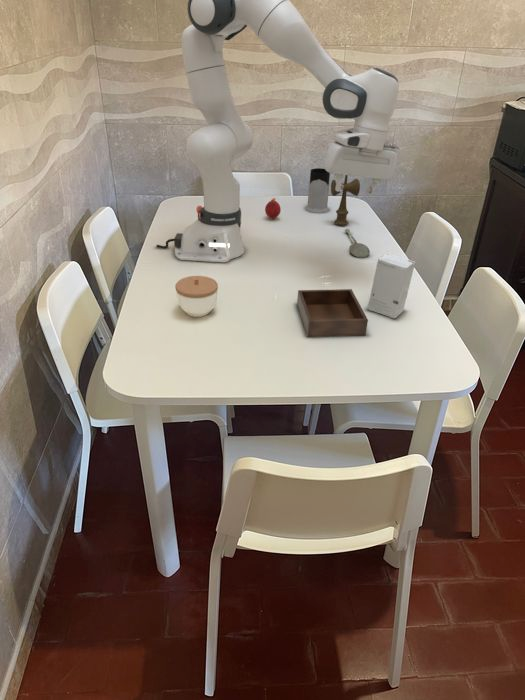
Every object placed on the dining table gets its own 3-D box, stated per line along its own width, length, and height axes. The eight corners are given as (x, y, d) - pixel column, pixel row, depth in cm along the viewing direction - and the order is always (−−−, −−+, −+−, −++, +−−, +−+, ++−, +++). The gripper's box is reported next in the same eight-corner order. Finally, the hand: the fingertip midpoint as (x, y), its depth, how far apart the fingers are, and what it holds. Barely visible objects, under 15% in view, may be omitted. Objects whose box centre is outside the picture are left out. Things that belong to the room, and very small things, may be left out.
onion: (278, 222, 197) (279, 201, 192) (263, 221, 198) (264, 199, 193) (281, 217, 202) (282, 196, 197) (266, 216, 203) (267, 195, 198)
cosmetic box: (367, 310, 142) (375, 258, 134) (377, 302, 146) (385, 251, 138) (396, 320, 138) (406, 267, 130) (405, 311, 142) (416, 259, 134)
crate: (307, 337, 130) (308, 321, 127) (296, 304, 143) (298, 290, 141) (365, 335, 131) (368, 319, 129) (349, 303, 145) (351, 289, 142)
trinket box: (185, 325, 133) (183, 291, 128) (171, 306, 141) (169, 274, 135) (224, 316, 137) (224, 283, 132) (208, 298, 145) (207, 267, 140)
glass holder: (305, 211, 208) (307, 172, 200) (308, 200, 220) (311, 163, 212) (327, 213, 207) (331, 174, 199) (329, 202, 219) (333, 165, 210)
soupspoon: (350, 259, 172) (370, 260, 172) (352, 250, 170) (372, 251, 170) (338, 232, 189) (356, 233, 190) (339, 223, 188) (357, 224, 188)
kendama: (355, 226, 196) (363, 171, 185) (330, 227, 194) (336, 172, 183) (350, 221, 201) (357, 167, 190) (326, 222, 199) (331, 167, 188)
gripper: (395, 142, 144) (380, 192, 151) (328, 132, 136) (316, 185, 143) (407, 147, 139) (391, 199, 146) (339, 137, 131) (325, 192, 138)
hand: (353, 192), depth 144 cm, fingers open, 8 cm apart
